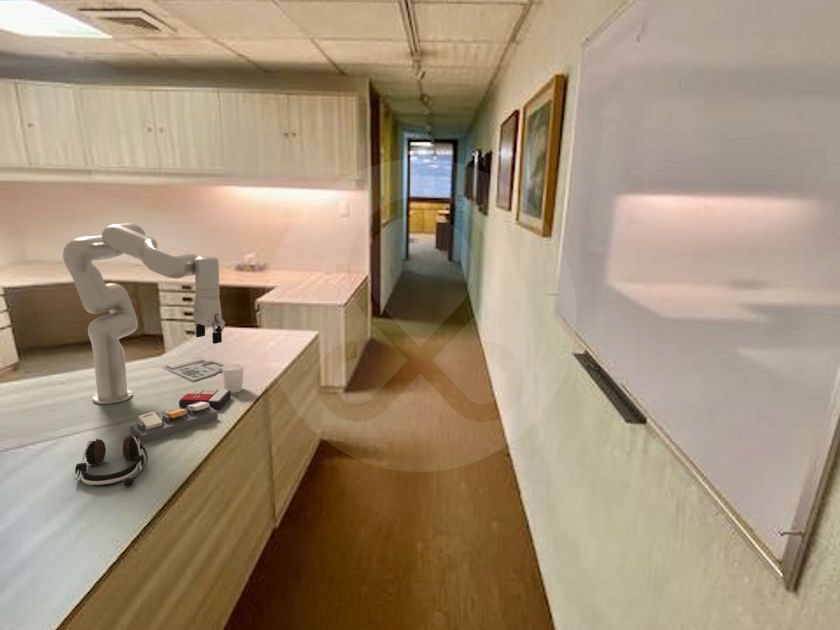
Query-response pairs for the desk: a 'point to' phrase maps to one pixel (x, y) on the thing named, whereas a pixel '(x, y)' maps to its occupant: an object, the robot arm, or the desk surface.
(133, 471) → the headset
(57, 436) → the desk surface
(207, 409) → the rocker switch panel
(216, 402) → the calculator
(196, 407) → the rocker
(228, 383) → the white cup
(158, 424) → the rocker
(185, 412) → the rocker middle
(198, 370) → the office telephone
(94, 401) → the robot arm
